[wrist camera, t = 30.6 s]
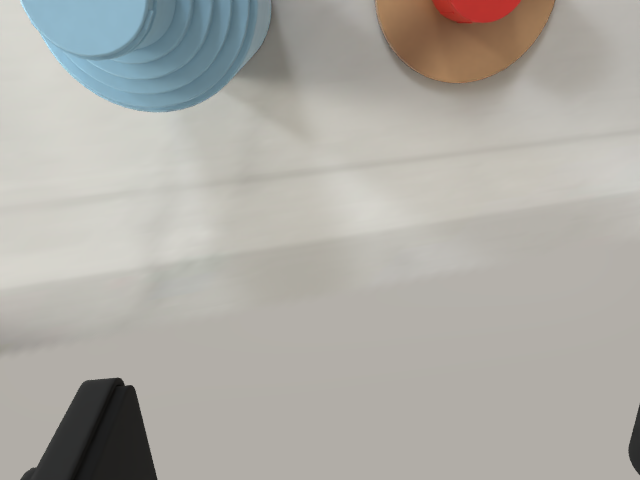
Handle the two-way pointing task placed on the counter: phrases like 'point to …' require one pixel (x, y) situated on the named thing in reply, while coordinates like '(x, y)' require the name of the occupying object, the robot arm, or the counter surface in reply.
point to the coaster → (459, 38)
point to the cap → (475, 10)
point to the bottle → (152, 46)
